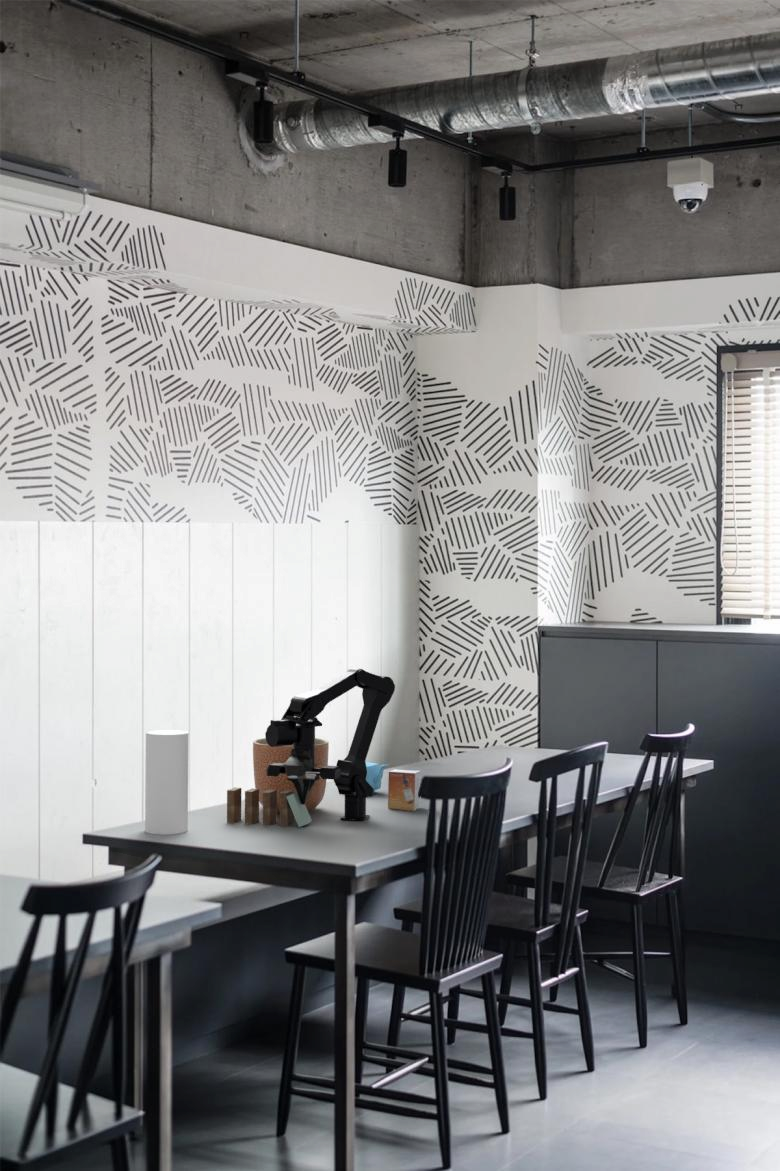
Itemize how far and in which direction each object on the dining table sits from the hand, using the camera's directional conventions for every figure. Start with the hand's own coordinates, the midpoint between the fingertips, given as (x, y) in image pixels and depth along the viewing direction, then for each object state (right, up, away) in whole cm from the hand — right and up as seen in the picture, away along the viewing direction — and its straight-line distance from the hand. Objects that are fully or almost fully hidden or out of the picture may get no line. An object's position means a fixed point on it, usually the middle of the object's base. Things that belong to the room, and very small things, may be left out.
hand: (303, 804), depth 371 cm
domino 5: (+1, -5, 0) cm, 5 cm away
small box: (+26, -6, +28) cm, 39 cm away
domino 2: (-14, -5, +4) cm, 15 cm away
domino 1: (-19, -5, +6) cm, 20 cm away
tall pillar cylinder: (-34, -6, -9) cm, 36 cm away
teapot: (+14, -5, +54) cm, 56 cm away
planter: (-5, -5, +23) cm, 25 cm away
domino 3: (-9, -6, +3) cm, 11 cm away
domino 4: (-4, -6, +1) cm, 7 cm away
